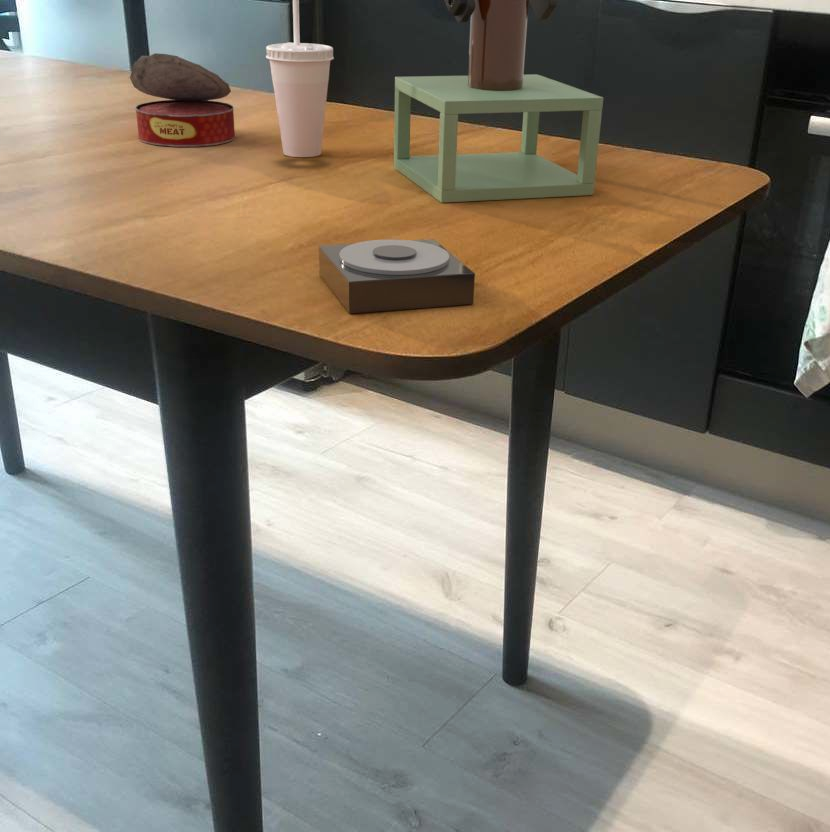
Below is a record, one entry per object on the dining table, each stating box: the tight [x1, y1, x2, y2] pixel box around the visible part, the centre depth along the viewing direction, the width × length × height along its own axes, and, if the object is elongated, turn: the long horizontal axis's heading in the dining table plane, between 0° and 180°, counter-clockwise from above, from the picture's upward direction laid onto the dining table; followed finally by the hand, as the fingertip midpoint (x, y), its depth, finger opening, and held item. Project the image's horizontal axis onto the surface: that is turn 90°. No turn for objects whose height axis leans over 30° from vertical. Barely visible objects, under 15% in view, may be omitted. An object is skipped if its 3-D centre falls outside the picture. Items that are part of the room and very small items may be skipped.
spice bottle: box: [467, 0, 530, 91], centre depth 91 cm, size 5×5×12 cm
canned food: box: [129, 52, 236, 148], centre depth 111 cm, size 11×10×10 cm
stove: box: [318, 238, 476, 315], centre depth 69 cm, size 8×8×2 cm
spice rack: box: [393, 73, 604, 204], centre depth 96 cm, size 14×14×8 cm
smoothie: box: [265, 0, 335, 158], centre depth 103 cm, size 6×6×14 cm
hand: (508, 14), depth 90 cm, fingers open, 8 cm apart
